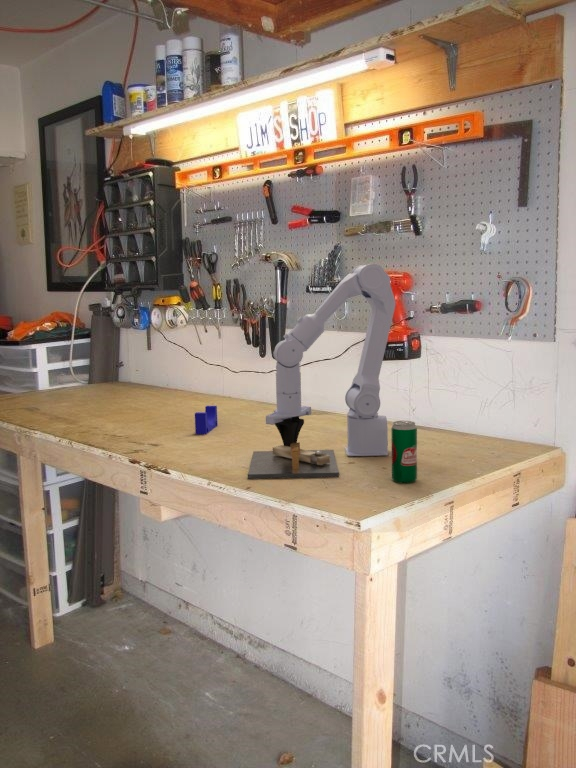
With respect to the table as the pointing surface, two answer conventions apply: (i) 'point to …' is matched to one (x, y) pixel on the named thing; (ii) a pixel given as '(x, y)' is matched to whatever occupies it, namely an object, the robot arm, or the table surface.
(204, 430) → the blue u-shaped block
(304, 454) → the link
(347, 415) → the robot arm
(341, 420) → the table surface
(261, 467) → the base plate
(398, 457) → the soda can
